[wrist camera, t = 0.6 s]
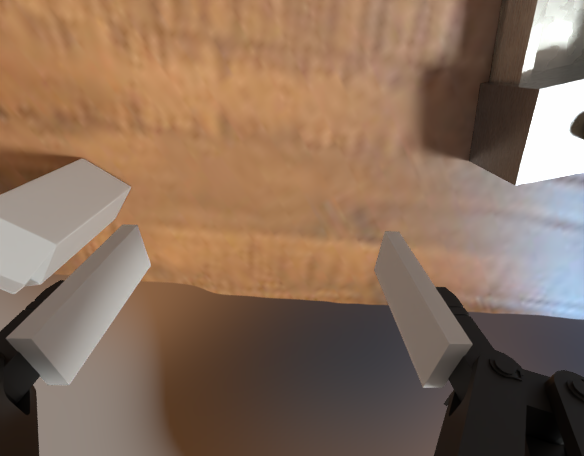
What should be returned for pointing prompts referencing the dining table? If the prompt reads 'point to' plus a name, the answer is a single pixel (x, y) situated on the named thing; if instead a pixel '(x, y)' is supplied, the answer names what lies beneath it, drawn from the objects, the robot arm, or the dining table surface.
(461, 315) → the robot arm
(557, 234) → the dining table surface
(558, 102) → the grey cabinet
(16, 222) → the white milk carton
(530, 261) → the dining table surface
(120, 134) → the dining table surface
